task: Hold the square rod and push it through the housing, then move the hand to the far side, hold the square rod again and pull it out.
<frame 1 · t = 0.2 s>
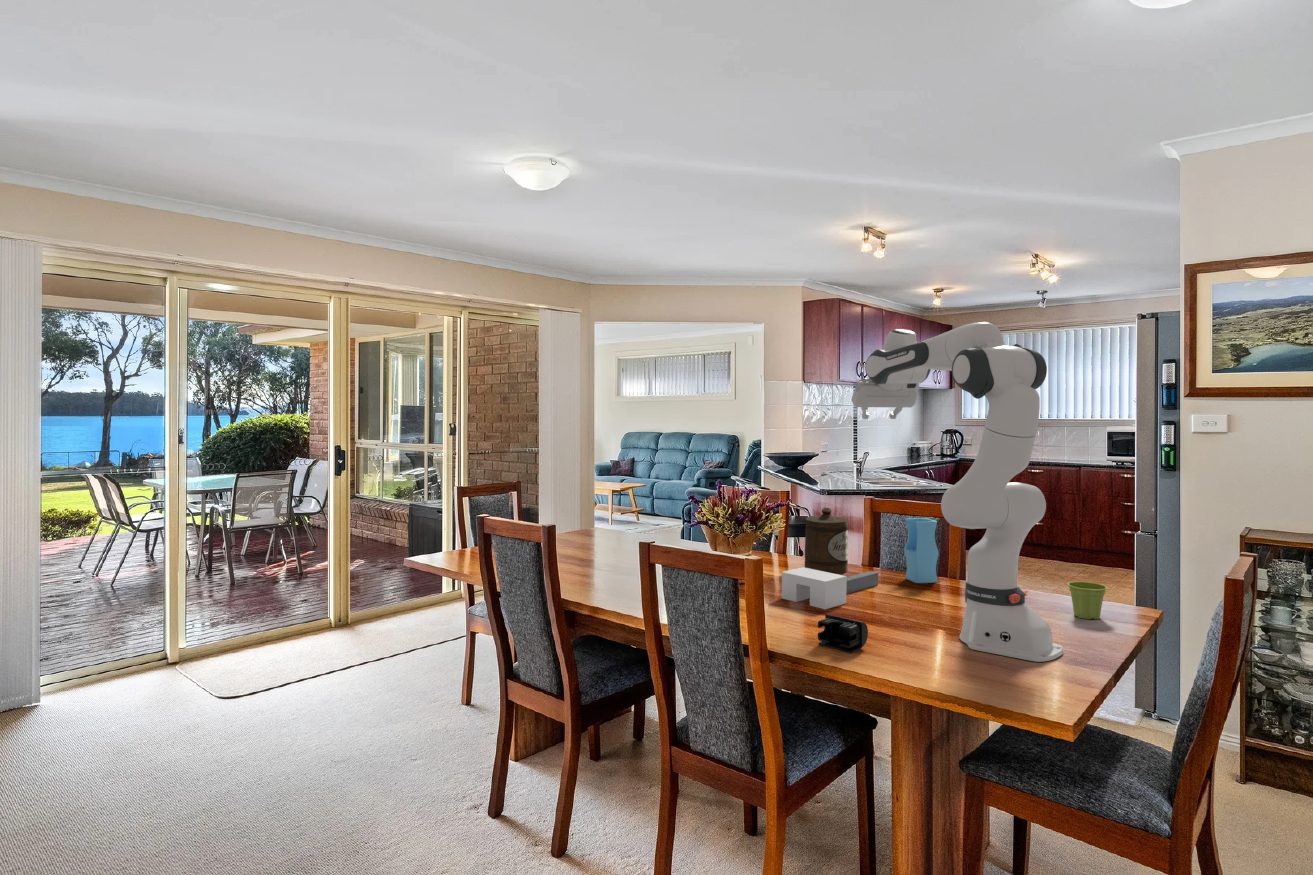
hand: (878, 418, 232), 54 cm above the table, tool tilted 30°, fingers open, 8 cm apart
wooden container: (826, 570, 259), on the table
vase: (920, 580, 243), on the table
square rod: (851, 590, 230), on the table
end cap: (842, 647, 176), on the table
plant pot: (1086, 617, 200), on the table
housing: (813, 600, 217), on the table
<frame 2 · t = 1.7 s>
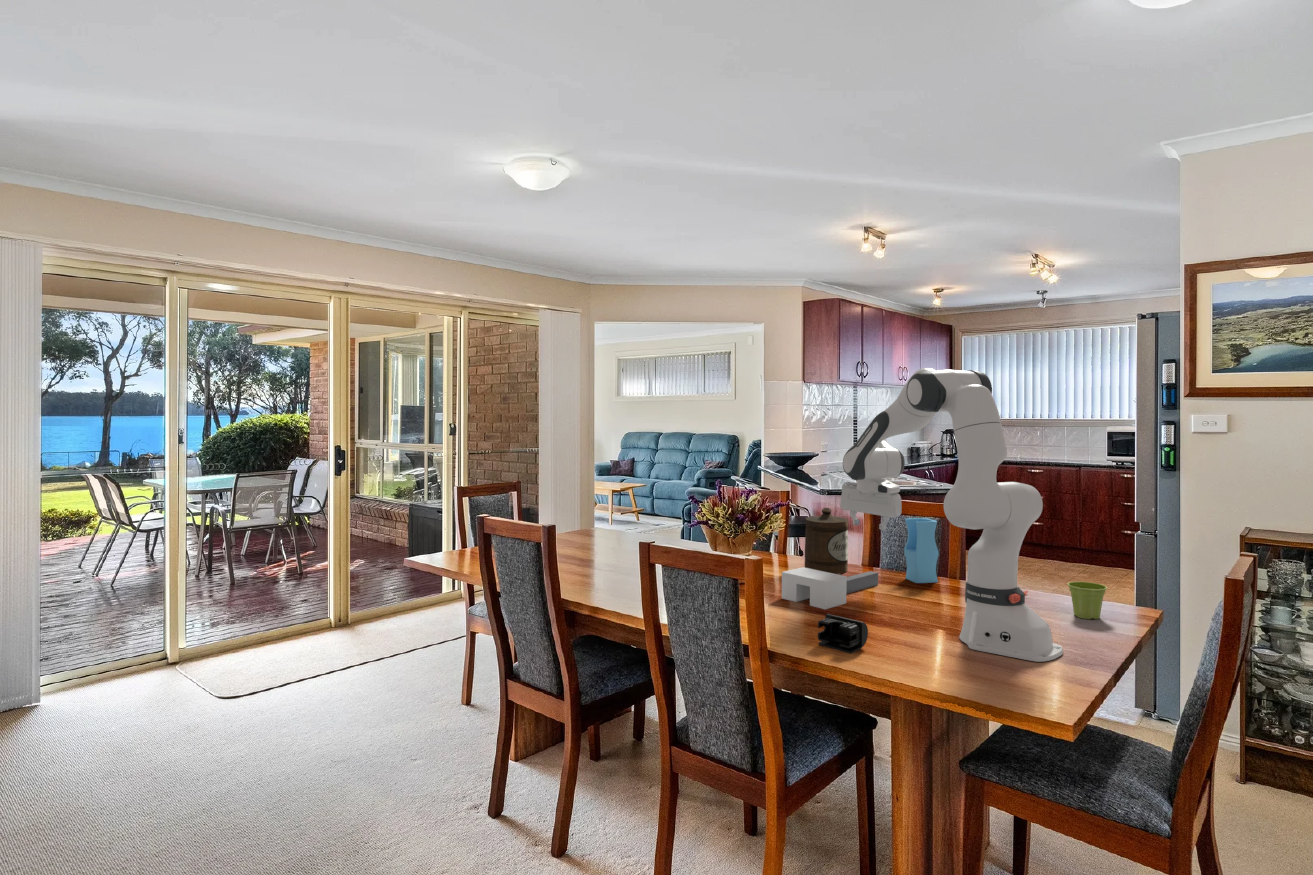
hand: (869, 527, 236), 19 cm above the table, tool pointing down, fingers open, 8 cm apart
nothing on the table moved.
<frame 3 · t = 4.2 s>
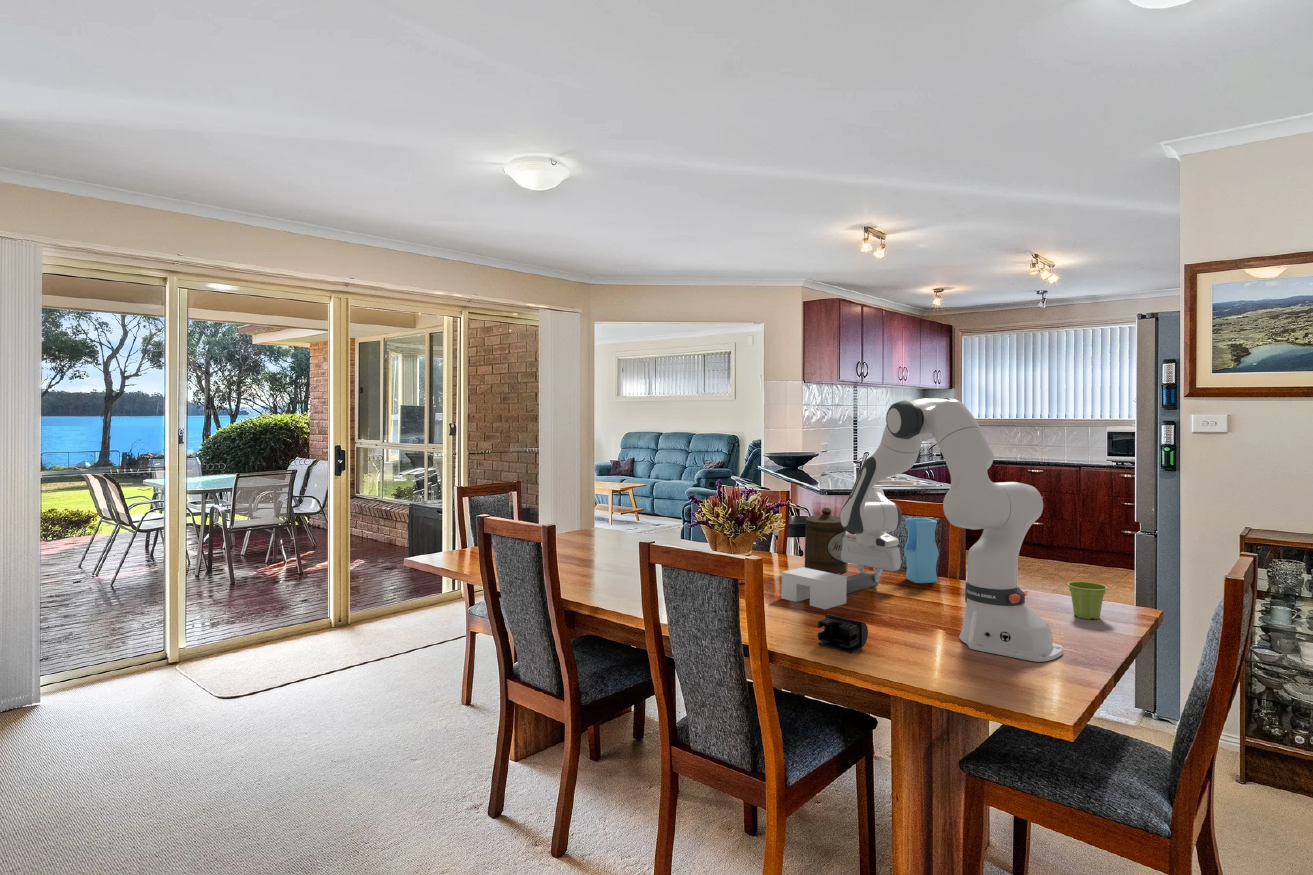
hand: (869, 580, 236), 2 cm above the table, tool pointing down, fingers closed on square rod, 3 cm apart
square rod: (851, 590, 230), on the table, touching gripper
everything else where it was.
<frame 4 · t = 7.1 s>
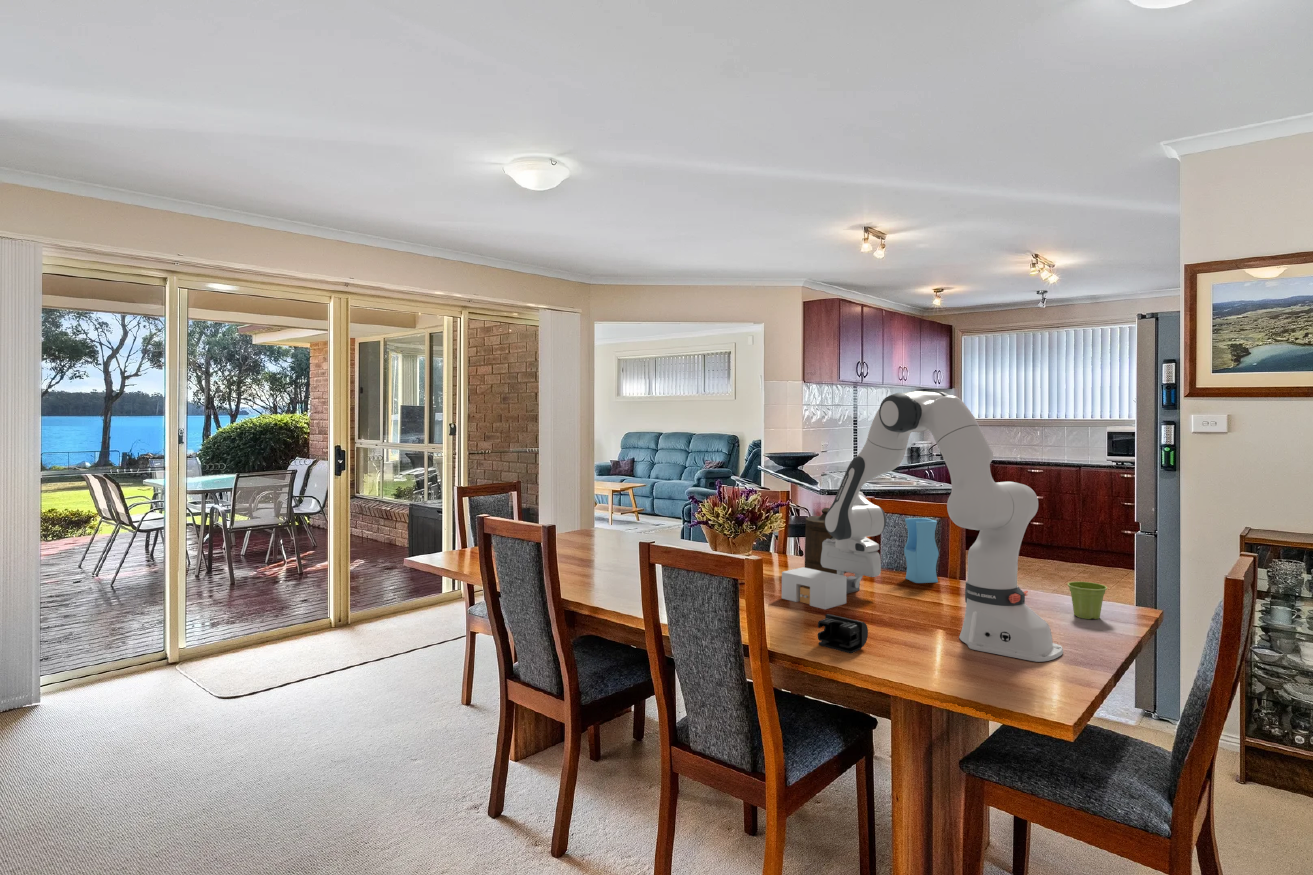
hand: (849, 586, 229), 2 cm above the table, tool pointing down, fingers closed on square rod, 3 cm apart
square rod: (831, 595, 223), on the table, touching gripper
everything else where it was.
when the fingers open (2 cm above the table, at t = 10.2 s): square rod stays where it is, on the table.
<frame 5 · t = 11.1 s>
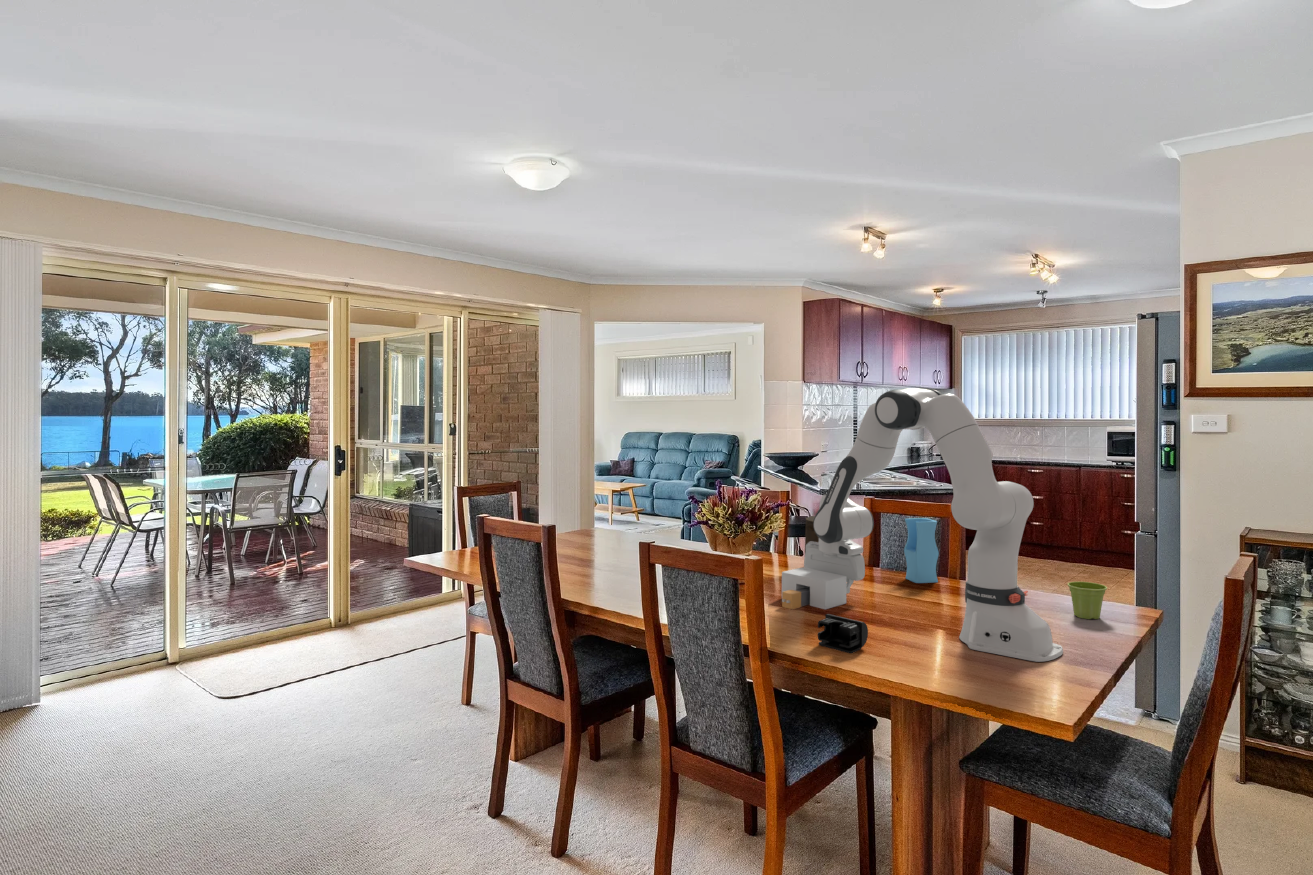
hand: (833, 589, 223), 2 cm above the table, tool pointing down, fingers open, 8 cm apart
square rod: (814, 600, 218), on the table
everything else where it was.
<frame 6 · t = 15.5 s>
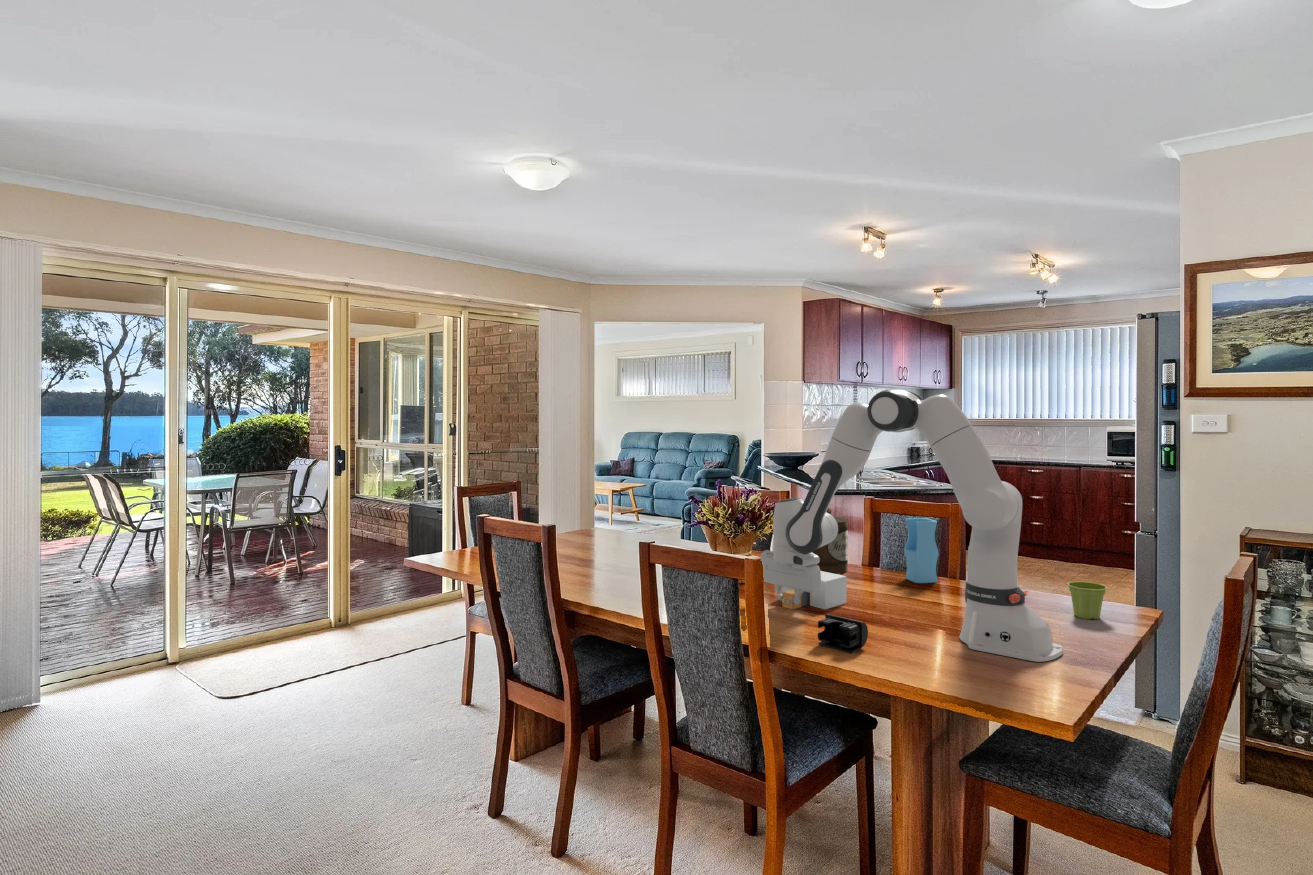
hand: (788, 602, 210), 2 cm above the table, tool pointing down, fingers closed on square rod, 4 cm apart
square rod: (814, 600, 218), on the table, touching gripper
everything else where it was.
when the fingers open (2 cm above the table, at t = 20.5 s): square rod stays where it is, on the table.
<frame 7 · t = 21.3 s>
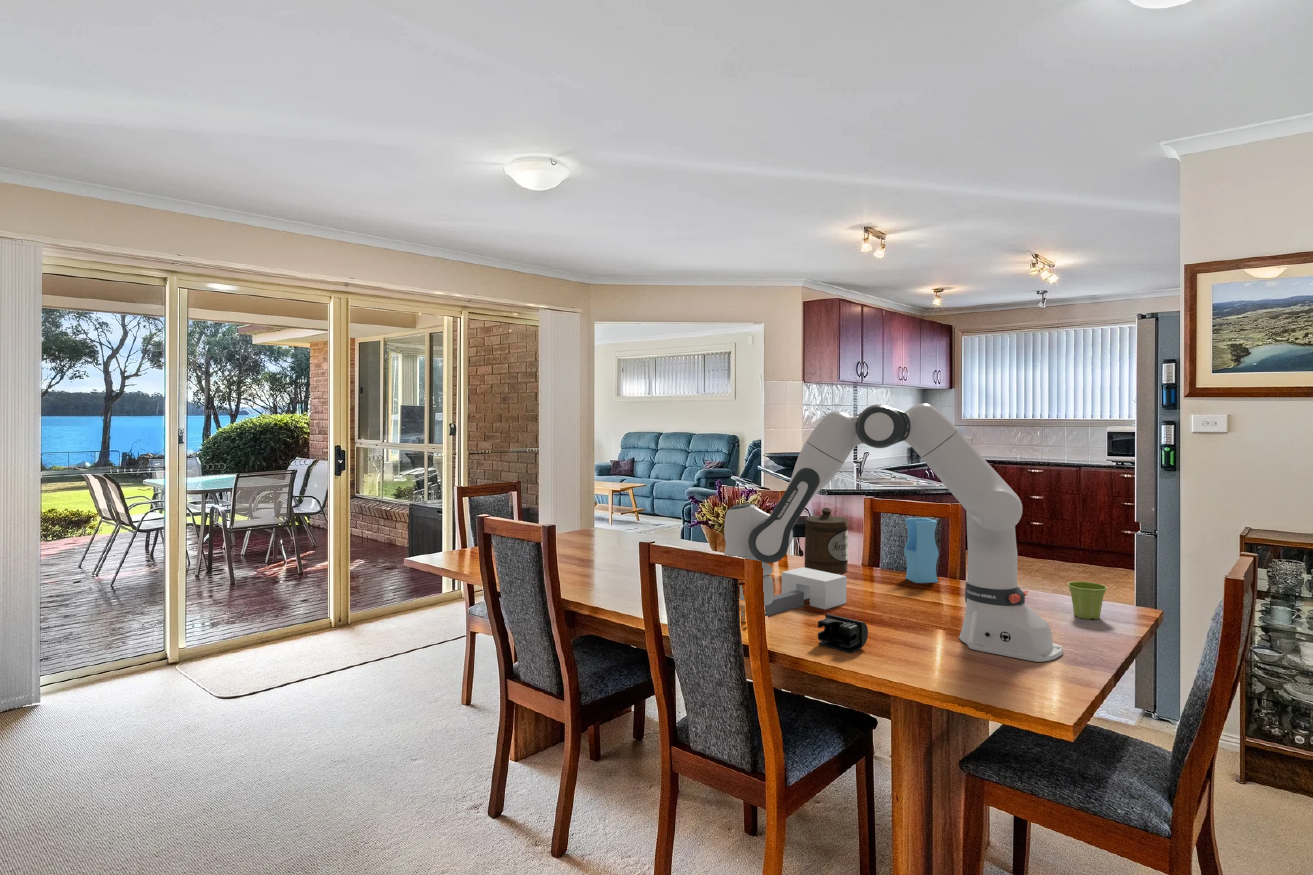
hand: (740, 615, 197), 2 cm above the table, tool pointing down, fingers open, 8 cm apart
square rod: (771, 612, 205), on the table
everything else where it was.
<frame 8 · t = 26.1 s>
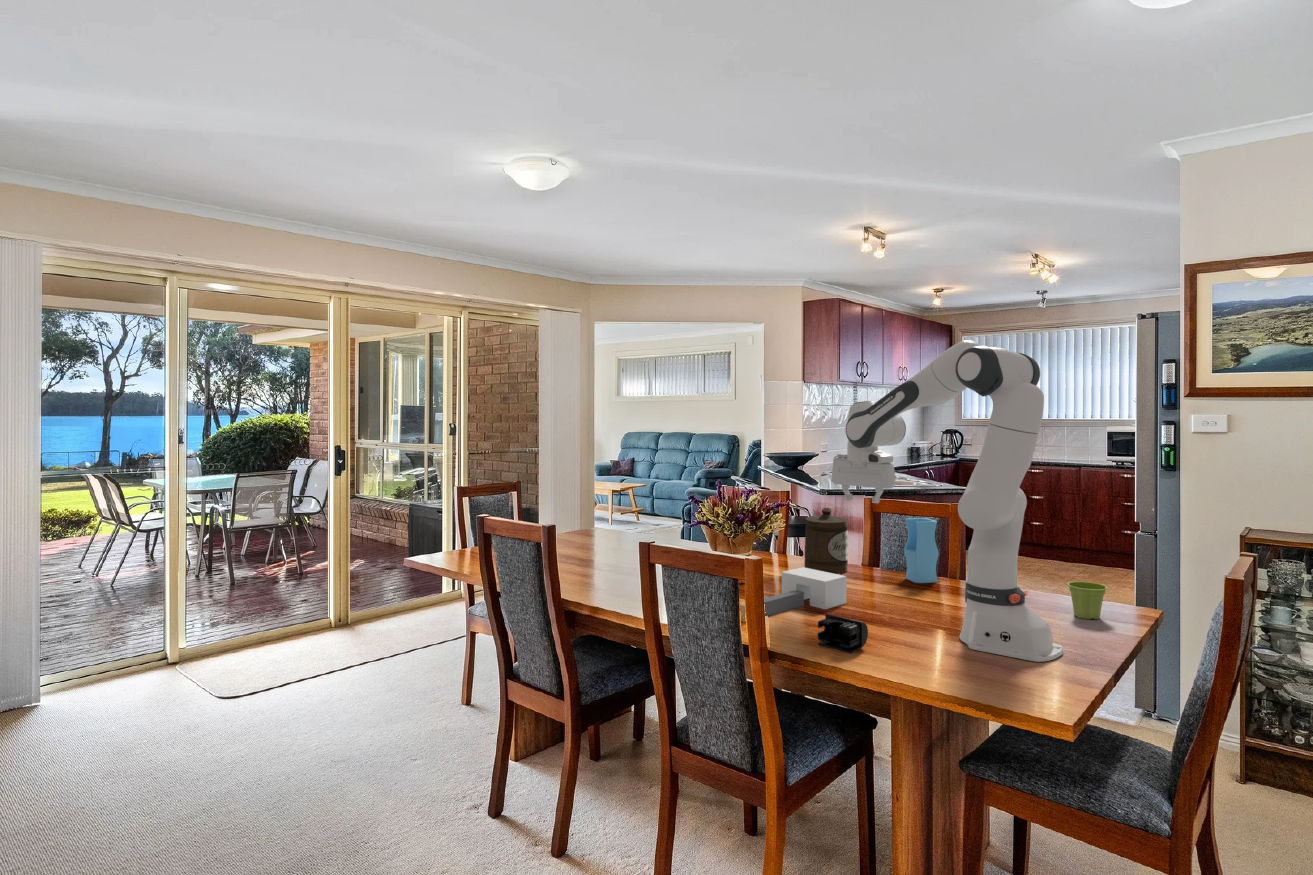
hand: (862, 501, 220), 29 cm above the table, tool pointing down, fingers open, 8 cm apart
nothing on the table moved.
at the end: square rod inside the target area (2.7 cm from its centre), on the table; square rod touching table; the gripper is holding nothing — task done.
